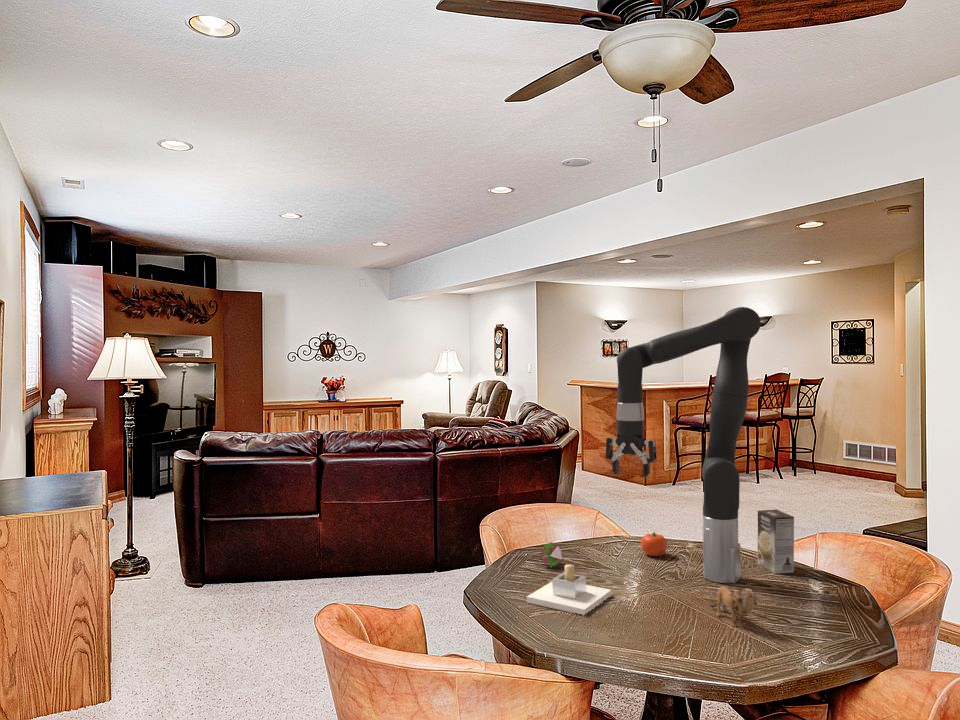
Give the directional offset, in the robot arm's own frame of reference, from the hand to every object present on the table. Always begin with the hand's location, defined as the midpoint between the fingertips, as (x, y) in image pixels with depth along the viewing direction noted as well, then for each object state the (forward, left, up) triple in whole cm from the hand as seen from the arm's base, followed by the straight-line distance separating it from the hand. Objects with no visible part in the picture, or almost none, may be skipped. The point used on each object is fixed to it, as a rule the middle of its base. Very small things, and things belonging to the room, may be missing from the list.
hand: (630, 475), depth 192 cm
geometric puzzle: (+23, +5, -28) cm, 37 cm away
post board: (+6, +27, -28) cm, 39 cm away
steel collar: (+6, +27, -27) cm, 38 cm away
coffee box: (-33, -27, -28) cm, 51 cm away
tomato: (+1, -21, -28) cm, 35 cm away
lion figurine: (-32, +19, -28) cm, 47 cm away
